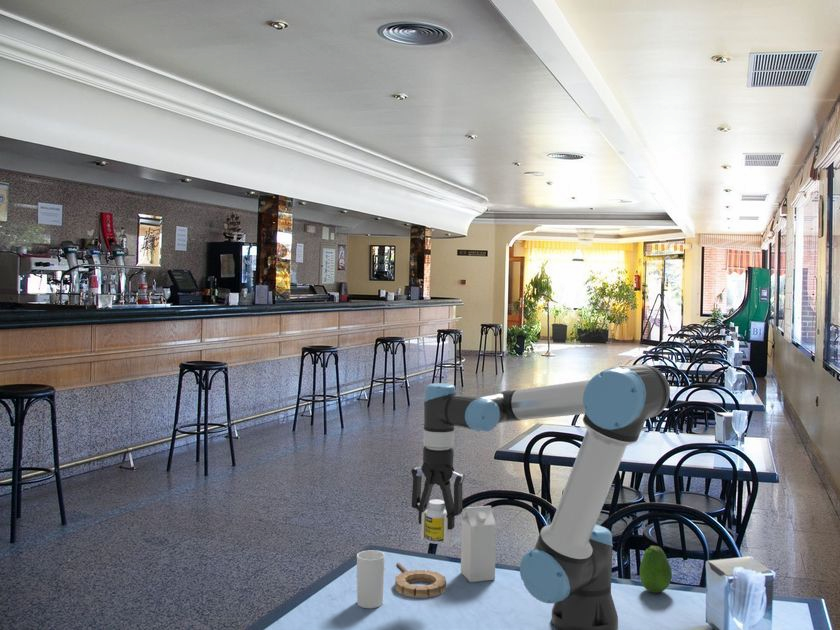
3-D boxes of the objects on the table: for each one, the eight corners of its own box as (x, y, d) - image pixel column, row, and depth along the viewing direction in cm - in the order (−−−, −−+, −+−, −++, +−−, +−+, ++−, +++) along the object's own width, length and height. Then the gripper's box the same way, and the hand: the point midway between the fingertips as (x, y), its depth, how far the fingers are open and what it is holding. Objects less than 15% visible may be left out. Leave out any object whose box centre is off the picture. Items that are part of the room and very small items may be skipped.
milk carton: (460, 573, 208) (461, 503, 208) (484, 570, 210) (486, 502, 210) (470, 582, 202) (471, 511, 201) (495, 580, 204) (496, 509, 203)
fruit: (677, 593, 197) (679, 547, 196) (659, 601, 192) (660, 553, 191) (650, 583, 203) (652, 538, 202) (632, 590, 198) (633, 544, 197)
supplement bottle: (421, 541, 189) (422, 502, 188) (430, 535, 193) (431, 497, 193) (441, 545, 186) (442, 506, 186) (450, 539, 191) (451, 500, 190)
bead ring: (454, 583, 201) (454, 575, 201) (431, 601, 189) (431, 593, 189) (410, 574, 207) (410, 566, 207) (386, 590, 195) (386, 583, 195)
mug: (379, 610, 184) (380, 561, 183) (352, 607, 185) (353, 558, 185) (389, 593, 194) (390, 547, 193) (364, 591, 195) (364, 544, 195)
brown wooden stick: (412, 577, 204) (412, 575, 204) (410, 578, 204) (410, 576, 204) (399, 564, 214) (399, 562, 214) (396, 565, 213) (396, 563, 213)
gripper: (479, 448, 188) (476, 541, 189) (412, 439, 196) (409, 528, 197) (466, 454, 181) (464, 551, 182) (398, 444, 189) (395, 537, 191)
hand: (435, 539), depth 190 cm, fingers closed on supplement bottle, 5 cm apart
